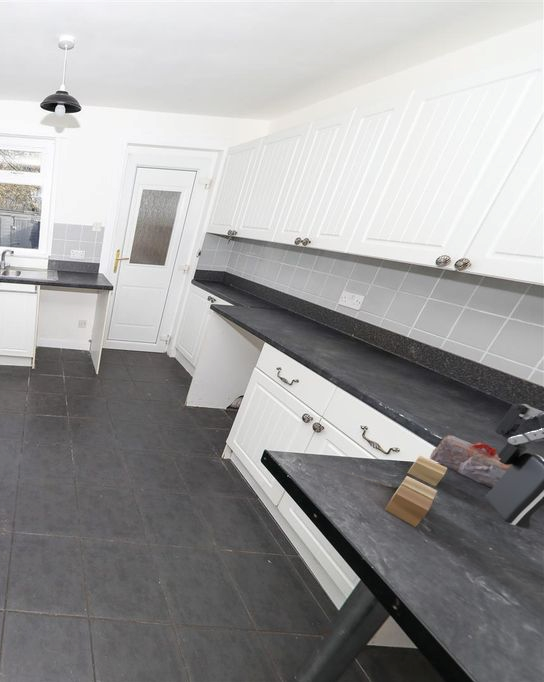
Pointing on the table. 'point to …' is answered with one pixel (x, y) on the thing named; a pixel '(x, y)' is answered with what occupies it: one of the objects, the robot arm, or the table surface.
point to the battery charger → (519, 490)
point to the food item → (470, 460)
